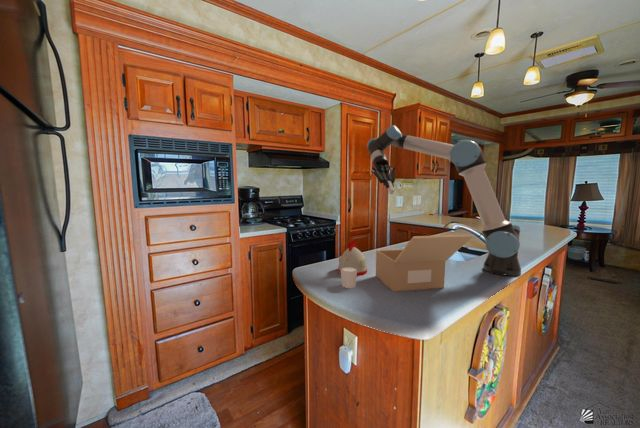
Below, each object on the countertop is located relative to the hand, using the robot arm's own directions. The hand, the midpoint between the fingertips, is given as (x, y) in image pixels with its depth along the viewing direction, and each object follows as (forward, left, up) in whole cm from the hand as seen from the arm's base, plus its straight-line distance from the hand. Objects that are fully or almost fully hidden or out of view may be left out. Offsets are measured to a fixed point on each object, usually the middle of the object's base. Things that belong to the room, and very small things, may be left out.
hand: (392, 192), depth 128 cm
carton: (-16, +9, -38) cm, 42 cm away
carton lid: (-29, +17, -20) cm, 39 cm away
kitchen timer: (+9, +17, -38) cm, 43 cm away
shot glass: (-3, +32, -38) cm, 50 cm away
